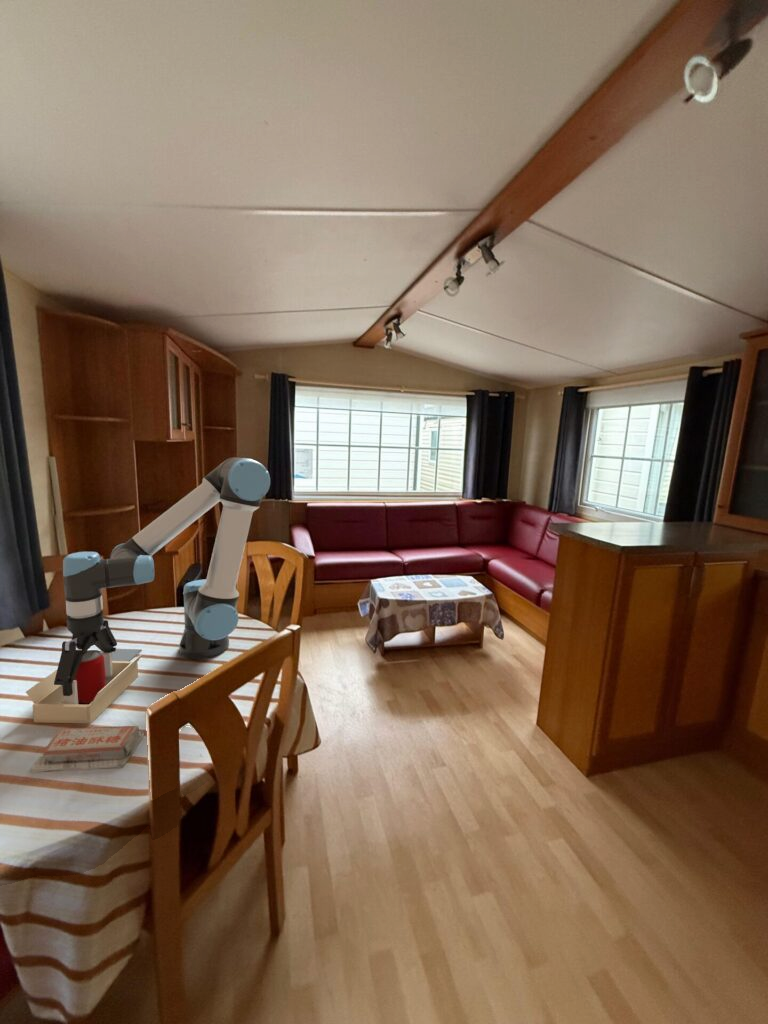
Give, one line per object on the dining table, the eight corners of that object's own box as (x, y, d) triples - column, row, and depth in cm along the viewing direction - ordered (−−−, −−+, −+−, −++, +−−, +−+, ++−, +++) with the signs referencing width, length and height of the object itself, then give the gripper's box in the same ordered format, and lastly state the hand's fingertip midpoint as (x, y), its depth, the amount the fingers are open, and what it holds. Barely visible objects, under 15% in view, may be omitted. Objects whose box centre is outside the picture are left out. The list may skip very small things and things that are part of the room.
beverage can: (103, 686, 112) (100, 646, 110) (109, 698, 108) (106, 655, 106) (73, 696, 108) (69, 654, 106) (77, 708, 103) (74, 664, 101)
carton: (145, 676, 118) (144, 651, 117) (98, 724, 98) (96, 695, 97) (85, 674, 118) (83, 650, 116) (25, 722, 97) (22, 693, 96)
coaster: (141, 650, 132) (141, 649, 132) (119, 670, 120) (119, 669, 120) (103, 649, 132) (103, 648, 132) (77, 669, 120) (77, 668, 120)
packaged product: (144, 717, 94) (122, 749, 85) (145, 736, 95) (124, 769, 85) (59, 720, 92) (27, 753, 82) (61, 739, 93) (29, 774, 83)
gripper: (101, 594, 116) (106, 663, 119) (29, 634, 91) (37, 720, 95) (128, 595, 116) (132, 664, 120) (63, 635, 92) (70, 720, 95)
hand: (90, 689), depth 107 cm, fingers open, 13 cm apart
